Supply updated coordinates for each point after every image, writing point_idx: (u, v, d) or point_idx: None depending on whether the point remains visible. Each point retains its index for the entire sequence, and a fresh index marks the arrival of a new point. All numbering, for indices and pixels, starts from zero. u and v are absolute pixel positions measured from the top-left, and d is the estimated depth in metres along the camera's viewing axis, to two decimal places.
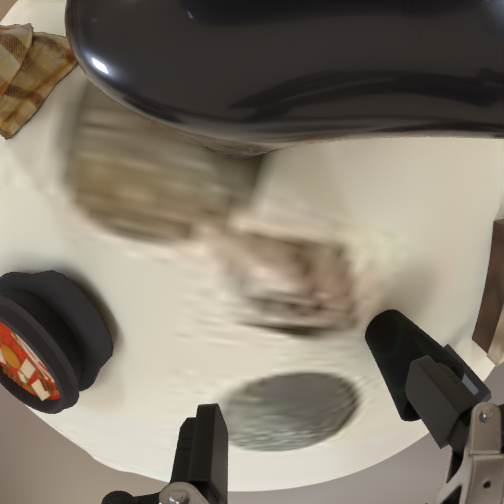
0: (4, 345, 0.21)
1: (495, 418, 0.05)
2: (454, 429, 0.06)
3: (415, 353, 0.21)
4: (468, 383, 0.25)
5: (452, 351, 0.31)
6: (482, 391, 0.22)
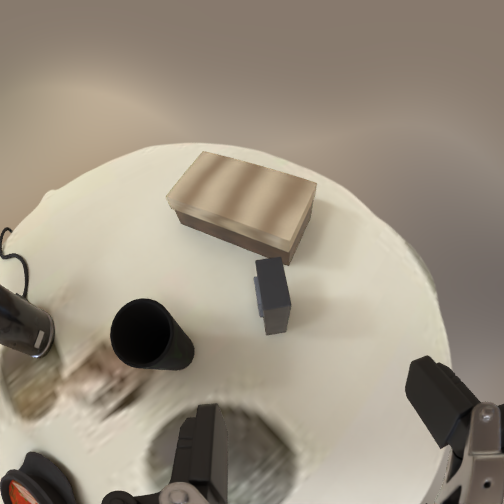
0: None
1: (495, 418, 0.05)
2: (454, 429, 0.06)
3: None
4: None
5: None
6: None
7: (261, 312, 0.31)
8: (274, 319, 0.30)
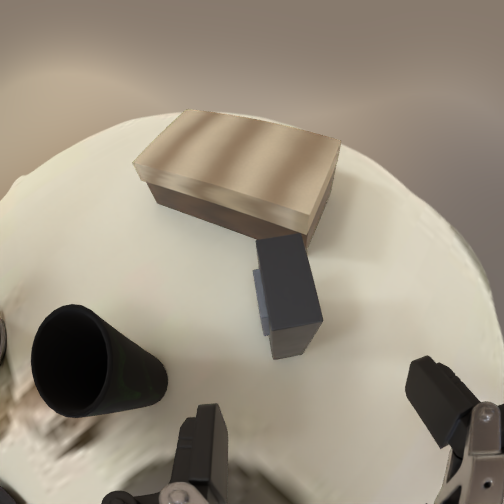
0: None
1: (495, 418, 0.05)
2: (454, 429, 0.06)
3: None
4: None
5: None
6: (258, 259, 0.17)
7: (266, 329, 0.18)
8: (288, 342, 0.18)
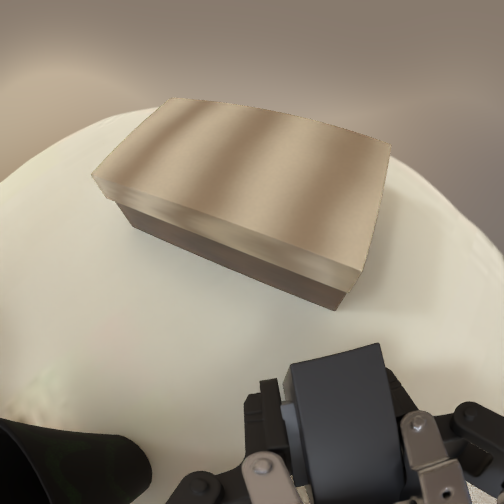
0: None
1: (428, 429, 0.06)
2: None
3: None
4: None
5: (283, 385, 0.16)
6: (293, 392, 0.08)
7: None
8: None
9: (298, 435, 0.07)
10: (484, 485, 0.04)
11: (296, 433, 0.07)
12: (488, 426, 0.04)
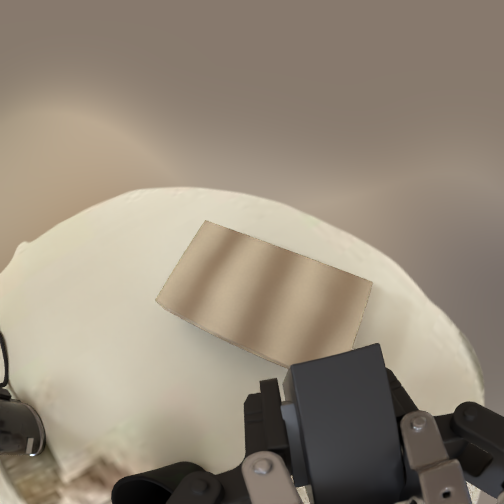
0: None
1: (428, 429, 0.06)
2: None
3: None
4: None
5: (283, 386, 0.16)
6: (293, 392, 0.08)
7: None
8: None
9: (298, 435, 0.07)
10: (484, 485, 0.04)
11: (296, 433, 0.07)
12: (488, 426, 0.04)
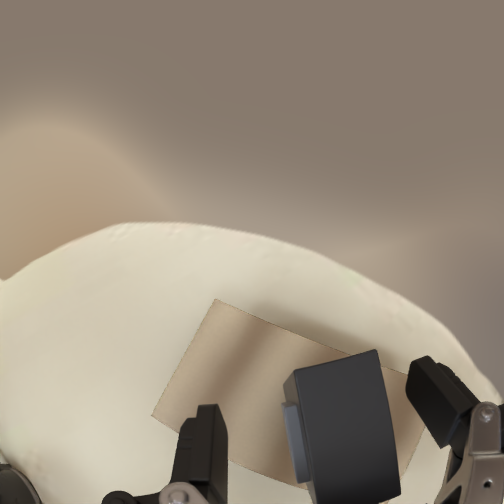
0: None
1: (495, 418, 0.05)
2: (454, 429, 0.06)
3: None
4: (283, 414, 0.10)
5: (283, 387, 0.17)
6: (296, 395, 0.08)
7: None
8: None
9: (300, 435, 0.08)
10: None
11: (298, 433, 0.08)
12: None
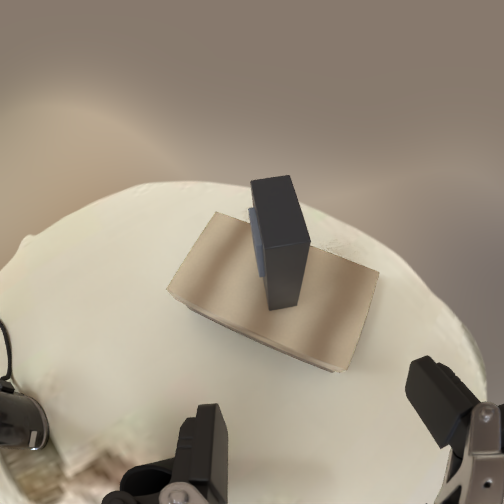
0: None
1: (495, 418, 0.05)
2: (454, 429, 0.06)
3: None
4: (251, 229, 0.21)
5: None
6: None
7: (261, 266, 0.21)
8: (282, 275, 0.20)
9: (256, 220, 0.19)
10: None
11: (255, 219, 0.19)
12: None
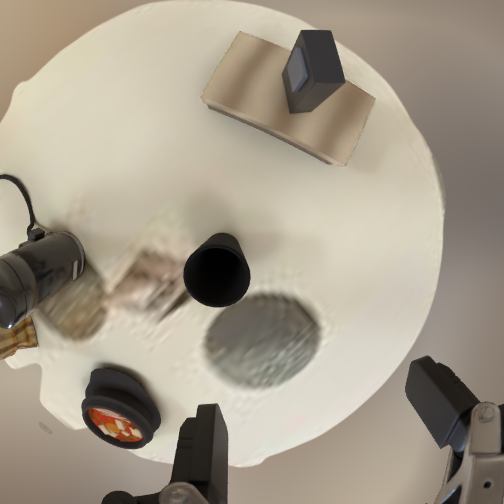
0: (106, 424, 0.45)
1: (495, 418, 0.05)
2: (454, 429, 0.06)
3: None
4: (292, 59, 0.21)
5: (283, 70, 0.27)
6: (300, 41, 0.19)
7: (298, 87, 0.23)
8: (315, 95, 0.23)
9: (302, 57, 0.20)
10: None
11: (302, 57, 0.20)
12: None
